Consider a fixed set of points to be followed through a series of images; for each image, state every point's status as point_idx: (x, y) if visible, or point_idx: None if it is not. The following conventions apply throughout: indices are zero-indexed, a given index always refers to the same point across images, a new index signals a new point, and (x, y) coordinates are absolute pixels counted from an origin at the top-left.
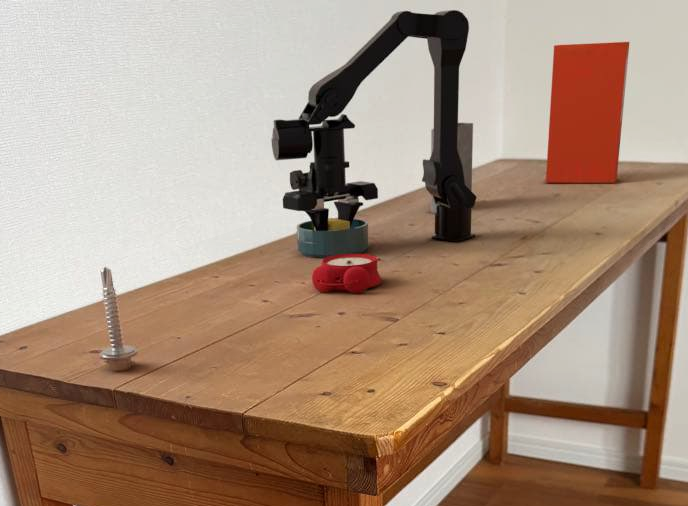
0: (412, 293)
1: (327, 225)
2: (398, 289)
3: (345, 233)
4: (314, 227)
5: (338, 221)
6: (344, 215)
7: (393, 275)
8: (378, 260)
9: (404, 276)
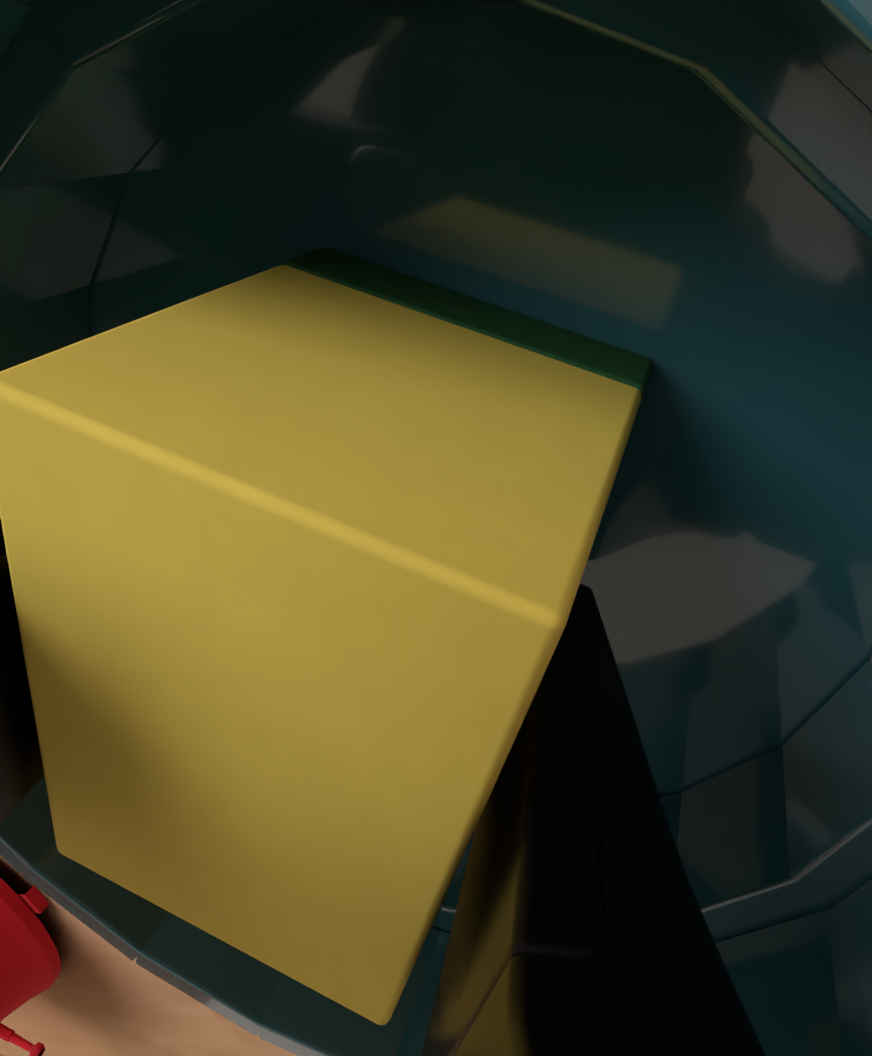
0: (59, 1046)
1: (36, 771)
2: (54, 1016)
3: (155, 918)
4: (102, 340)
5: (268, 889)
6: (445, 1050)
7: (165, 1001)
8: (37, 1043)
9: (183, 1034)
